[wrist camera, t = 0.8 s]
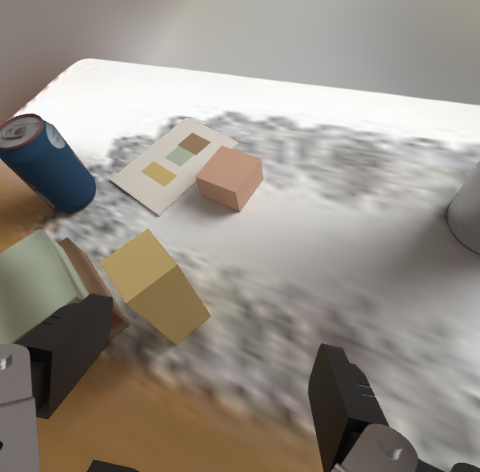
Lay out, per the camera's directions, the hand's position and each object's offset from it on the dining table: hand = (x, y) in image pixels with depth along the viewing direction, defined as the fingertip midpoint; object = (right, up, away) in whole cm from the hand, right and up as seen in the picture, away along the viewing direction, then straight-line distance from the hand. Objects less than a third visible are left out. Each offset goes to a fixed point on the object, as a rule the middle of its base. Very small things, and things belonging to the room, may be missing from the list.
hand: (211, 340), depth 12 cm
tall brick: (-5, -4, +23) cm, 24 cm away
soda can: (-22, +9, +34) cm, 42 cm away
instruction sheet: (-9, +15, +35) cm, 39 cm away
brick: (0, +10, +31) cm, 33 cm away
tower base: (-19, -5, +24) cm, 31 cm away
